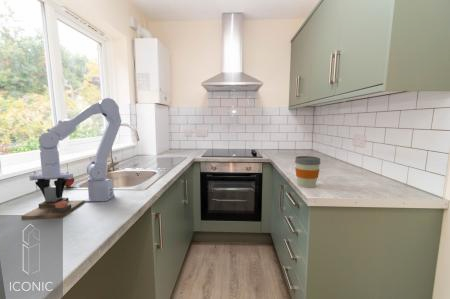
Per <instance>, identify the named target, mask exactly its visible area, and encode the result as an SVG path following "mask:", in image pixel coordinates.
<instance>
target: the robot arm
mask: <svg viewBox="0 0 450 299" xmlns="http://www.w3.org/2000/svg"><path fill="white" fill-rule="evenodd" d="M97 114H98V115H99V114H101V115H103V117H104V118H105V120H106V121H107V125H106V128H105V130H104V132H103V135H102V137H101V139H100V143H99V145H98V148H97V150H96V154H95V155H94V157H93V159H91V160H92V161H91V162H90V163H89V164H88V165H87V167H86V172H87V174H88V177H87V191H88V192H87V193H88V197H87V198H86V199H85V203H86V202H90V203H91V202H108V201H109V200H111V199H112V198H113V197H114V196H115V192H114V191H115V190H114V181H113V179H112V178H107V176H106V175H107V167H108V159H109V156H110V154H111V150H112V148H113V145H114V143H115V141H116V137H117V135H118V133H119V129H120V127H121V125H122V118H121V114H120V107H119V105H118V104H117V102H116V101H115V100H114V99H113V98H110V97H106V98H103V99H100V100H99V101H98V102H95V103H92V104H90V105H88V106H87V107H85V109H83V110H82V111H80V112H79V113H77V114H76V115H75V116H73V117H72V118H71V119H63V120H58V121H57V124H55V125H54V126H52V127H51V128H47V129H46V132H44V133H42V134H41V135H40V136H39V138H38V143H39V145H40V147H39V150H40V152H39V156H40V166H41V173H37V174H31V175H29V181H35V182H34V183H35V185H36V187H38V188H39V189H40V191H41V193H42V195H43V197H44V199H45V193H44V187H47V186H49V185H51V180H54V181H53V183H54V184H53V185H55V186H56V190H57V197H58V198H60V197H62V198H63V193H64V188H65V187H66V186H65V184H66V182H67V180H68V179H72V178H73V177H74V175H73V174H74V173H69V172H68V173H67V172H61V163H60V151H58V144H59V141H63V140H65V139H66V138H68V137H69V136H70V135H72V134H74V133H75V132H76V131H77V126H78V125H80V124H82V122H84V121H86V120H88V119H89V118H91V117H92V116H93V115H97Z"/></svg>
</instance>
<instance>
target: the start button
mask: <svg viewBox="0 0 450 299" xmlns="http://www.w3.org/2000/svg"><path fill="white" fill-rule="evenodd" d="M66 206H67V201H60V202H58V203H56V204H55V207H56V208H64V207H66Z"/></svg>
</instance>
